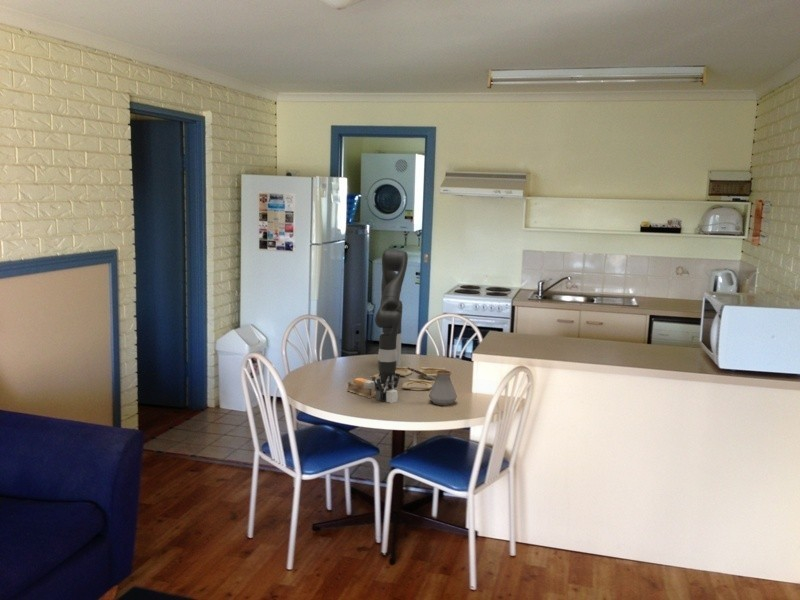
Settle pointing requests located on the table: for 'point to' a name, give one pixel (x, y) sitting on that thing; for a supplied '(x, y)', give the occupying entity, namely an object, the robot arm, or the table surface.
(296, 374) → the table surface
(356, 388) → the brown wooden divided tray
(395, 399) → the two-tone square pillar
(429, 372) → the tableware set
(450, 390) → the coffee pot
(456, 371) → the table surface
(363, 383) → the orange white rectangular block
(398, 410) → the table surface
